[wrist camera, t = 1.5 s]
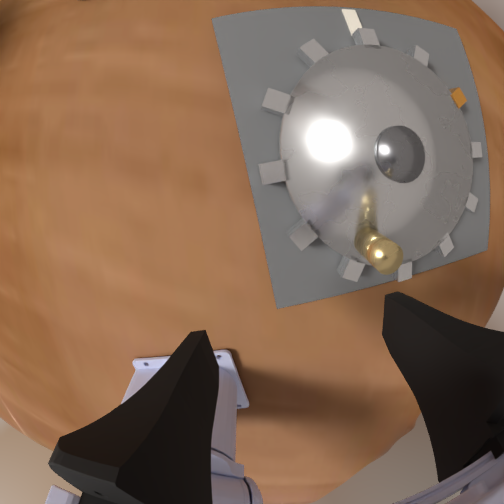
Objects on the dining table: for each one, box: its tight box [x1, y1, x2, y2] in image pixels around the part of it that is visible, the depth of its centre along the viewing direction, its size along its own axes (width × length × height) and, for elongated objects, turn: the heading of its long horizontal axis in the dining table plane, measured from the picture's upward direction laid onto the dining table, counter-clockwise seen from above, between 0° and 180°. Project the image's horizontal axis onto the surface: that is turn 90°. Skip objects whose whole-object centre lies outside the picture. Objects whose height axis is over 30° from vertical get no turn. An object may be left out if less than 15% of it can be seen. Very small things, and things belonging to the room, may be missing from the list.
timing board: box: [212, 7, 490, 309], centre depth 16 cm, size 21×21×1 cm
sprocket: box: [258, 28, 482, 282], centre depth 13 cm, size 18×18×4 cm
